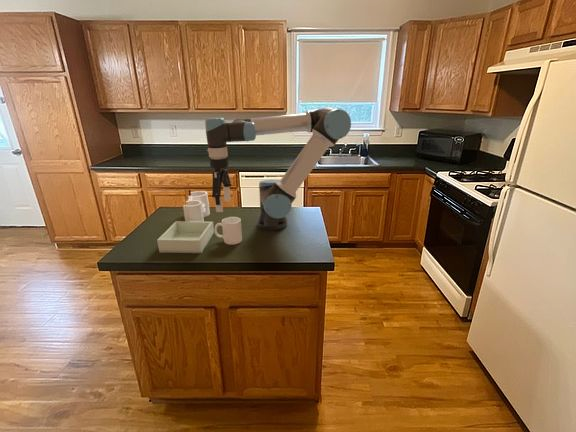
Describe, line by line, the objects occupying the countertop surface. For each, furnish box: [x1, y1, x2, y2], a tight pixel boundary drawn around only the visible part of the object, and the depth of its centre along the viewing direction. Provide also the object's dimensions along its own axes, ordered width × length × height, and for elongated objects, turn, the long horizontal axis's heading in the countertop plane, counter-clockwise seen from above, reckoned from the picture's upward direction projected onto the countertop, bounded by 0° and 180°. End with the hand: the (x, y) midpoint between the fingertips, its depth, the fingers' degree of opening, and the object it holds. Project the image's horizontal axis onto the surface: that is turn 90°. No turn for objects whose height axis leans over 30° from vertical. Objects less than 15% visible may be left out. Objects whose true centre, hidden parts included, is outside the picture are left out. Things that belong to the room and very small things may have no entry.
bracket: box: [182, 190, 211, 222], centre depth 162 cm, size 25×10×12 cm, turn 5°
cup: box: [214, 216, 243, 245], centre depth 138 cm, size 8×12×10 cm
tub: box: [156, 220, 215, 254], centre depth 138 cm, size 18×20×6 cm
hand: (223, 206), depth 134 cm, fingers open, 13 cm apart
